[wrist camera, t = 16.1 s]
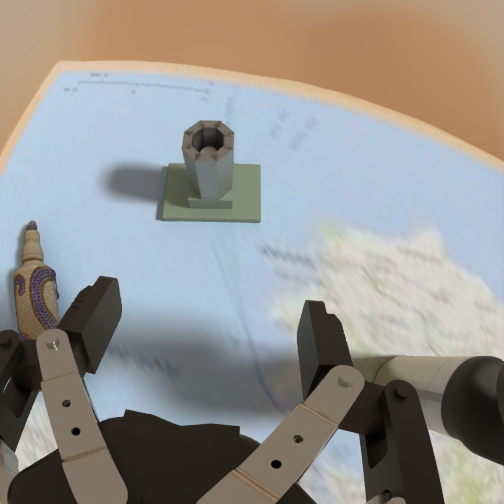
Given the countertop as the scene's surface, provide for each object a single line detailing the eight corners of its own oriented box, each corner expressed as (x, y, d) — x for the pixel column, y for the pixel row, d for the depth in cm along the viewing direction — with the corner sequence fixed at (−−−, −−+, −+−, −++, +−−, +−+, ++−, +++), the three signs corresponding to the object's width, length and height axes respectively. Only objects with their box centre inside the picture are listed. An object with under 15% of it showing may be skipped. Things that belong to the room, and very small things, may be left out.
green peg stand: (259, 168, 50) (267, 125, 39) (259, 222, 47) (268, 188, 36) (170, 167, 49) (156, 124, 38) (163, 220, 46) (146, 186, 36)
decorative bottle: (83, 386, 39) (61, 392, 33) (43, 390, 38) (20, 395, 32) (61, 221, 45) (41, 205, 39) (25, 232, 45) (4, 218, 38)
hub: (233, 164, 45) (234, 121, 35) (231, 200, 43) (232, 162, 34) (193, 163, 45) (185, 120, 35) (189, 199, 43) (179, 161, 33)
